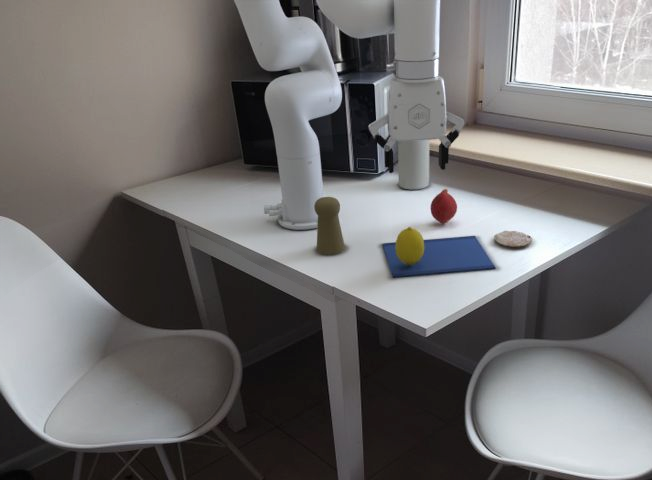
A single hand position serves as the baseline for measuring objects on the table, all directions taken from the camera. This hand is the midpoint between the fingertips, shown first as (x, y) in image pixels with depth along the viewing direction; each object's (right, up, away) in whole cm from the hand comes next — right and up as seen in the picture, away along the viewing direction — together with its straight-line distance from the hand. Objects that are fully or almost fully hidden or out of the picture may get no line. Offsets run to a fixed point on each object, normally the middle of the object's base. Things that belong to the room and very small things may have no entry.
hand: (416, 169), depth 116 cm
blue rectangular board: (+5, -15, +10) cm, 18 cm away
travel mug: (+3, +10, +48) cm, 49 cm away
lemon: (-1, -17, +6) cm, 19 cm away
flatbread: (+21, -11, +14) cm, 28 cm away
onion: (+8, -5, +25) cm, 26 cm away
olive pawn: (-17, -13, +15) cm, 26 cm away
